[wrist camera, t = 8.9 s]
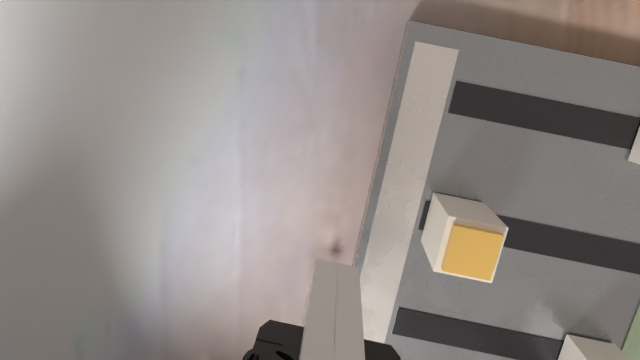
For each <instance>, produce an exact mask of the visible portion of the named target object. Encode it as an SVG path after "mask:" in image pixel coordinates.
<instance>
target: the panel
mask: <svg viewBox="0 0 640 360" xmlns="http://www.w3.org/2000/svg"><path fill="white" fill-rule="evenodd" d="M639 127H640V67H639V66H634V65H629V64H624V63H619V62H614V61H609V60H604V59H599V58H594V57H589V56H584V55H579V54H574V53H569V52H564V51H559V50H554V49H549V48H544V47H539V46H534V45H530V44H525V43H520V42H515V41H510V40H505V39H500V38H495V37H490V36H485V35H480V34H475V33H470V32H465V31H460V30H455V29H450V28H445V27H440V26H435V25H430V24H425V23H420V22H415V21H409V22H408V23H407V26H406V31H405V35H404V40H403V44H402V48H401V53H400V57H399V62H398V66H397V70H396V75H395V79H394V84H393V88H392V92H391V97H390V101H389V106H388V110H387V114H386V119H385V123H384V128H383V132H382V136H381V141H380V145H379V150H378V154H377V158H376V163H375V167H374V172H373V176H372V180H371V185H370V189H369V194H368V198H367V202H366V207H365V211H364V216H363V220H362V224H361V229H360V233H359V238H358V242H357V246H356V251H355V255H354V260H353V264H352V266H353V267H358V268H359V273H360V288H361V304H362V319H363V334H364V339H366V340H371V341H375V342H380V343H384V344H389V345H392V347H393V348H394V349H395V351H396V352H397V353H398V355H399V356H400V358H401V360H558V358H559V355H560V352H561V349H562V346H563V344H564V341H565V338H566V335H567V334H568V335H573V336H578V337H583V338H588V339H593V340H597V341H602V342H607V343H612V344H616V345H617V346H618V348H619V349H620V350H621V351H622V352H623V353H624V354H625V355H626V356H627V357H628V358H629V359H630V360H640V165H639V164H637V163H634V162H631V161H628V158H629V155H630V153H631V150H632V147H633V144H634V141H635V138H636V135H637V133H638V130H639ZM433 192H434V193H439V194H444V195H449V196H453V197H458V198H463V199H468V200H473V201H478V202H483V203H485V204H486V205H487V206H488V207H489V208H490V209H491V210H492V211H493V212H494V213H495V214H496V215H497V216H498V218H499V219H500V220H501V221H502V222H503V223H504V224H505V225H506V226H507V227H508V232H507V235H506V238H505V241H504V245H503V248H502V251H501V255H500V258H499V261H498V265H497V268H496V271H495V275H494V278H493V281H492V283H488V282H483V281H478V280H473V279H468V278H463V277H458V276H453V275H449V274H444V273H439V272H434V271H433V269H432V267H431V264H430V262H429V259H428V257H427V255H426V252H425V250H424V247H423V245H422V242H421V237H422V234H423V230H424V226H425V222H426V218H427V214H428V210H429V207H430V203H431V199H432V195H433Z"/></svg>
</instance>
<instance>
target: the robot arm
mask: <svg viewBox="0 0 640 360" xmlns="http://www.w3.org/2000/svg"><path fill="white" fill-rule="evenodd" d="M243 360H401V358H400V356H399V355H398V353H397V352H396V351H395V349H394V348H393V347H392V345H389V344H384V343H380V342H375V341H371V340H366V339H364V334H363V319H362V304H361V288H360V273H359V268H358V267H353V266H349V265H344V264H340V263H335V262H330V261H326V260H321V259H317V258H316V261H315V266H314V270H313V275H312V279H311V284H310V288H309V292H308V297H307V301H306V306H305V310H304V315H303V319H302V323H301V326H296V325H291V324H287V323H282V322H278V321H273V320H269V321H268V322H266V323H265V324H264V325H263V326H261V327H260V329H259V332H258V335H257V338H256V341H255V344H254V347H253V349H251V350H249V351H248V352H247V353H246V354H245V356H244V357H243Z"/></svg>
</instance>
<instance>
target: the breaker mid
mask: <svg viewBox="0 0 640 360" xmlns="http://www.w3.org/2000/svg"><path fill="white" fill-rule="evenodd" d="M507 232H508V227H507V226H506V225H505V224H504V223H503V222H502V221H501V220H500V219H499V218H498V216H497V215H496V214H495V213H494V212H493V211H492V210H491V209H490V208H489V207H488V206H487V205H486V204H485V203H483V202H478V201H473V200H468V199H463V198H458V197H453V196H449V195H444V194H439V193H434V192H433V195H432V199H431V203H430V207H429V210H428V214H427V218H426V222H425V226H424V230H423V234H422V237H421V242H422V245H423V247H424V250H425V252H426V255H427V257H428V259H429V262H430V264H431V267H432V269H433V271H434V272H439V273H444V274H449V275H453V276H458V277H463V278H468V279H473V280H478V281H483V282H488V283H492V281H493V278H494V275H495V271H496V268H497V265H498V261H499V258H500V255H501V251H502V248H503V245H504V241H505V238H506V235H507Z"/></svg>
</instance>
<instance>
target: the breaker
mask: <svg viewBox="0 0 640 360" xmlns="http://www.w3.org/2000/svg"><path fill="white" fill-rule="evenodd" d="M558 360H630V359H629V358H628V357H627V356H626V355H625V354H624V353H623V352H622V351H621V350H620V349H619V348H618V346H617V345H616V344H612V343H607V342H602V341H597V340H593V339H588V338H583V337H578V336H573V335H568V334H567V335H566V338H565V341H564V344H563V346H562V349H561V352H560V355H559V358H558Z"/></svg>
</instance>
